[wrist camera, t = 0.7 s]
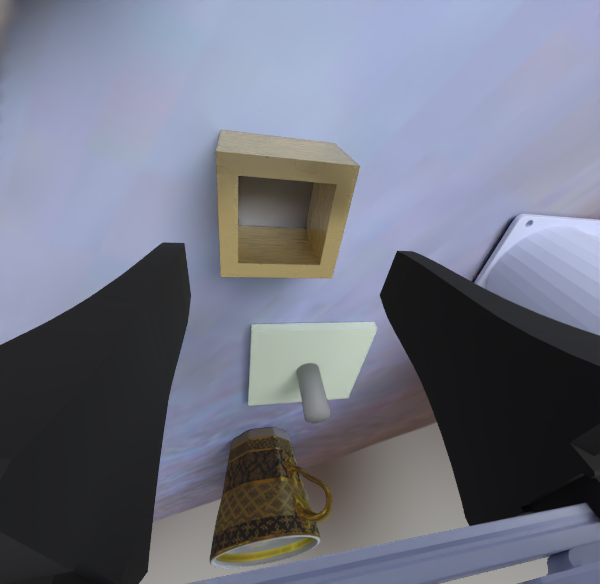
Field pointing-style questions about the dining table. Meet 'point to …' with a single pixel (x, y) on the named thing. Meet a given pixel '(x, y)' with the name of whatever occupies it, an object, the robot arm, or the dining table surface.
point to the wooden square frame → (274, 240)
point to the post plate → (306, 363)
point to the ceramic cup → (264, 503)
